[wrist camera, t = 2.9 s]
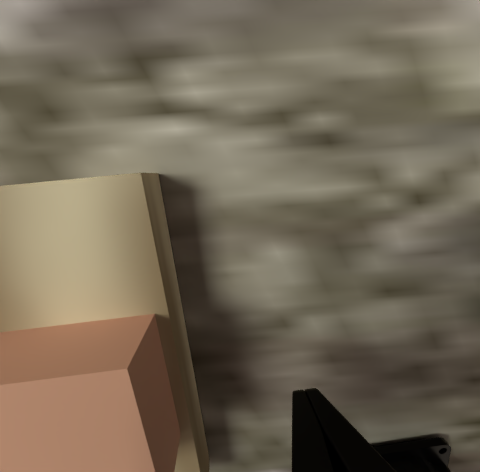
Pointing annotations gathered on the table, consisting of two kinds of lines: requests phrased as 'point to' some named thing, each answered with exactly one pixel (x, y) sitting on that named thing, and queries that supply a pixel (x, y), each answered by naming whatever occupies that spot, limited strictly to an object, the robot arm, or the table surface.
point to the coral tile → (87, 399)
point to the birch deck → (99, 273)
